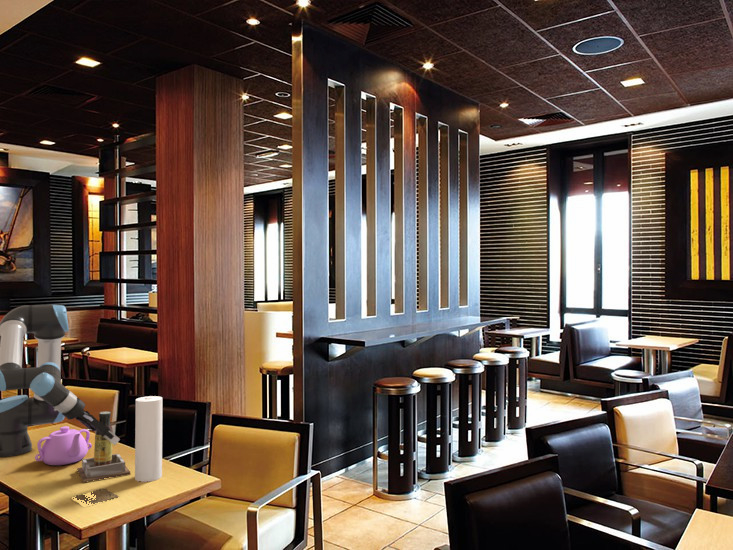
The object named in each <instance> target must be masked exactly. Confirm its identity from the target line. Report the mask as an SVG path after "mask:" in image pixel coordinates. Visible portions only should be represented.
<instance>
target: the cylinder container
mask: <svg viewBox="0 0 733 550" xmlns="http://www.w3.org/2000/svg"><path fill="white" fill-rule="evenodd" d="M134 431H135V432H134V433H135V437H134V438H135V439H134V441H135V442H134V451H135V452H134V480H135V481H136V480H137V482H139V481H141V483H145V482H147V481H148V483H149V482H153V481H157V480H159V479H161V478H162V477H163V397H162V396H159V395H158V396H156V395H154V396H153V395H149V396H141V397H138V398H136V399H135V429H134Z"/></svg>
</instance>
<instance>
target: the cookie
mask: <svg viewBox="0 0 733 550" xmlns="http://www.w3.org/2000/svg"><path fill="white" fill-rule="evenodd" d="M90 492H91V495H92V494H94V496H95V495H96V498H95V499H96V500H95V499H94V500H92V499H93V498H91V499H89V500H91V501H89V500H88V498H90V497H88V498H86V497H87V496H86V497H85V495H83V494H84V493H81V494H77V495H74V496H72V497H75V496H76V497H75V498H77V500H79V499H80V500H84V501H85V502H86V504H87V501H89V503H90V502H91V504H92V503H93V504H95V503H98V502H102V503H104V502H103V501H105V502H108V501H107V500H109V501H112V500H115V499H114V498H116V499H119V498H120V496H119V495H118V494H116V493H114V492H112V491H110V490H109V491H108V489H107V488H105V489H103V488H99V489H98V488H97V489H95V490H93V493H92V491H90ZM94 496H93V497H94ZM118 497H119V498H118ZM73 499H74V498H73ZM85 499H86V500H85ZM111 499H112V500H111ZM81 502H82V501H81ZM83 503H84V502H83ZM88 505H89V504H88ZM95 505H96V504H95Z"/></svg>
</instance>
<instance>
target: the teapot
mask: <svg viewBox="0 0 733 550" xmlns="http://www.w3.org/2000/svg"><path fill="white" fill-rule="evenodd" d="M82 433H86V436H85V437H84V436H83V434H82ZM90 437H91V433H90V430H89V429H85V428H83V429H82V428H81V429H79V430H77V429H74V428H70V426H67V425H65V426H62V427H61V426H60V428H59V430H55V431H53V432H51V433H50V434H49V435H48V436H43V437H42V438H40V439H39V440H38V441H37V443H36V444H37V451H38V453H37V454H36V455H35V457H34V460H35V461H36V462H41V461H42V462H43V463H44V464H46V465H49V466H62V465H69V464H74V463H77V462H79V461H82V459H85V458H84V457H86V455H87V454H88V451H89V450H90V449H92V446H93V445H92V443H91V442H89V440H90ZM42 442H44V443H43V445H42Z"/></svg>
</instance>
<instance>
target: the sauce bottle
mask: <svg viewBox="0 0 733 550" xmlns="http://www.w3.org/2000/svg"><path fill="white" fill-rule="evenodd" d="M111 413H112V412H111V411H100V412H99V414H98V418H99V419H98V421H99V422H101V423H102V424H103V425H104V426H106V427H107V428H109V429H110V430H109V431H111V432H112V433H113V434H114V432H113V431H114V430H113V427H112V426H111V415H112V414H111ZM101 436H102V434H101V433H100V432H98V431H96V433H95V434H94V449H93V451H94V453H93V454H94V455H93V458H94V464H95V465H96V466H102V465H108V464H110V463H111V460H112V454H113V443H111V442H110V441H109V440H108V439H106V438H105V437H101Z"/></svg>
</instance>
